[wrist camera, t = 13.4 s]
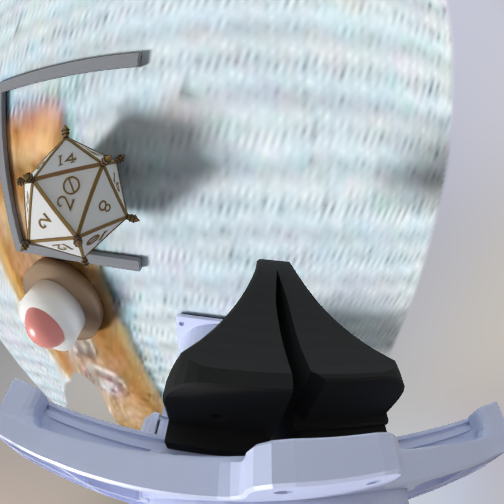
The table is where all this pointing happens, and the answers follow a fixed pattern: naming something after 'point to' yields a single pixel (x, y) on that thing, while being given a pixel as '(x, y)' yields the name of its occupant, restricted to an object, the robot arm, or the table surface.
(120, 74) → the table surface
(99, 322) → the dome base
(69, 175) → the game die
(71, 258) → the frame
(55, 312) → the dome
